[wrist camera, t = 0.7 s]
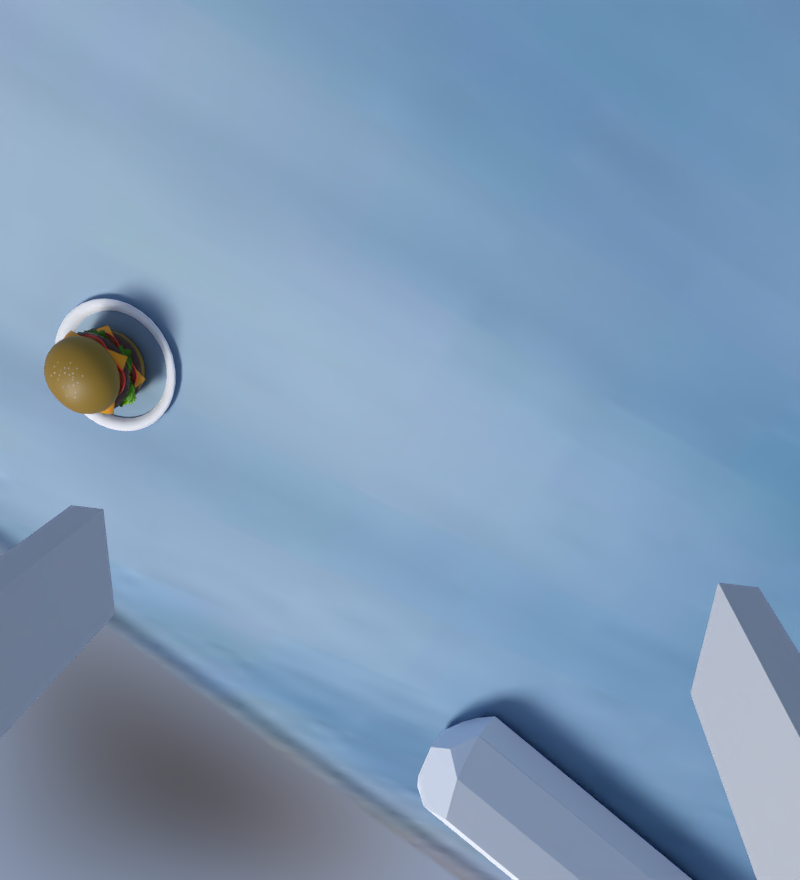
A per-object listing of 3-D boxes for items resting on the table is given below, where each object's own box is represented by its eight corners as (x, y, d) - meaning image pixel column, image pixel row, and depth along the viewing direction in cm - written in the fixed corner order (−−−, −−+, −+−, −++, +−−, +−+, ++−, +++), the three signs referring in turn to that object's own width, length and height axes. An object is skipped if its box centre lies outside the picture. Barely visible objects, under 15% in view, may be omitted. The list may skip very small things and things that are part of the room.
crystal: (767, 948, 44) (482, 712, 43) (703, 1046, 43) (410, 806, 43) (704, 883, 52) (459, 681, 51) (648, 966, 51) (398, 761, 50)
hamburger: (225, 436, 46) (184, 464, 41) (78, 456, 50) (22, 484, 45) (175, 256, 43) (123, 262, 38) (21, 290, 46) (-46, 300, 41)
